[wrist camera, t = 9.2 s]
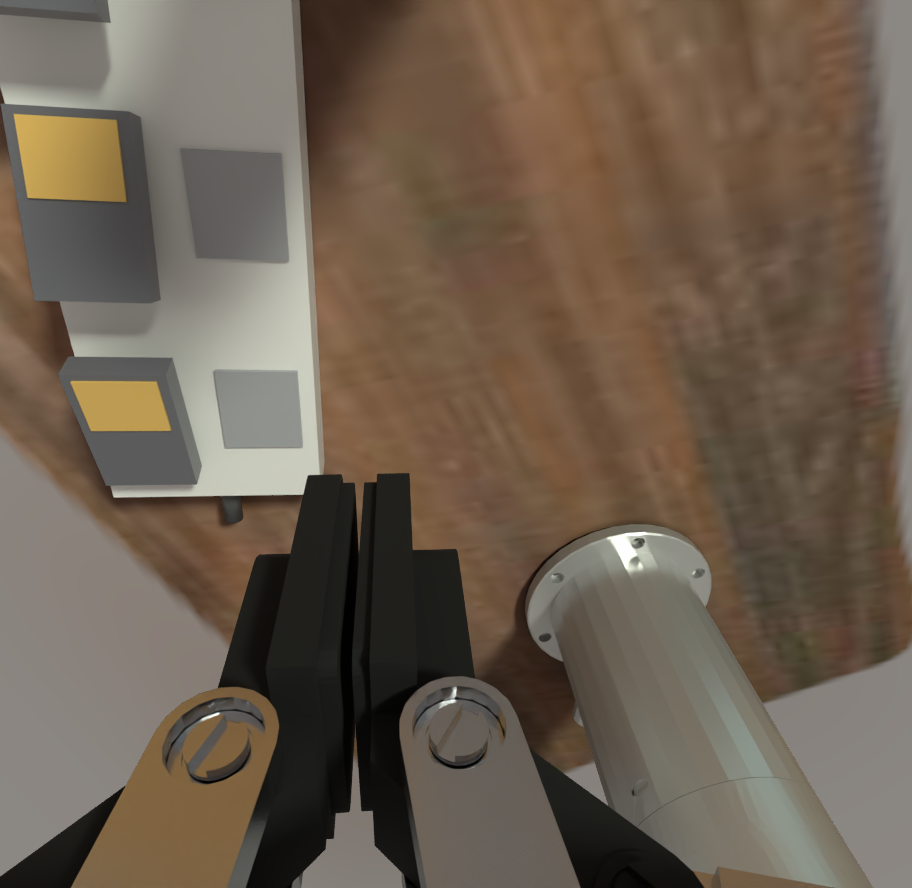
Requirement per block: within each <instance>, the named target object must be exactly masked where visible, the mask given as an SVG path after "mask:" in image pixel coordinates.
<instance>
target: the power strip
mask: <svg viewBox="0 0 912 888" xmlns="http://www.w3.org/2000/svg"><path fill="white" fill-rule="evenodd" d="M108 6H109V14H110V21H111V23H104V22H91V21H78V20H65V19H52V18H39V17H26V16H13V15H0V88H1V91H2V95H3V98H4V102H5V104H16V105H33V106H49V107H66V108H82V109H99V110H115V111H129V112H131V113H133V114H135V115H137V116H139V117H141V125H142V134H143V143H144V152H145V161H146V170H147V179H148V188H149V198H150V207H151V216H152V225H153V234H154V243H155V252H156V261H157V270H158V279H159V288H160V297H161V300H159V301H156V302H153V303H111V302H67V301H60V305H61V308H62V312H63V316H64V319H65V323H66V327H67V330H68V334H69V337H70V341H71V345H72V348H73V352H74V356H75V357H149V358H173V362H174V365H175V369H176V373H177V376H178V380H179V384H180V387H181V391H182V395H183V398H184V402H185V406H186V409H187V413H188V417H189V420H190V424H191V428H192V431H193V435H194V439H195V442H196V446H197V450H198V453H199V457H200V461H201V464H202V468H201V472H200V476H199V479H198V483H197V485H123V486H111V490H112V493H113V497H179V496H221V502H222V508H223V514H224V520H225V521H226V522H227V523H237V522H239V521H241V520H242V519H243V511H242V504H241V497H240V496H244V495H303V494H304V489H305V485H306V480H307V477H308V475H323V470H324V445H323V426H322V408H321V389H320V371H319V352H318V334H317V315H316V297H315V278H314V260H313V241H312V223H311V204H310V186H309V167H308V149H307V130H306V112H305V93H304V75H303V56H302V38H301V19H300V1H299V0H108Z"/></svg>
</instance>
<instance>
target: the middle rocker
mask: <svg viewBox="0 0 912 888" xmlns="http://www.w3.org/2000/svg"><path fill="white" fill-rule="evenodd" d="M1 110H2V116H3V122H4V127H5V133H6V139H7V145H8V150H9V156H10V162H11V168H12V174H13V179H14V185H15V191H16V197H17V202H18V208H19V214H20V220H21V226H22V231H23V237H24V243H25V249H26V254H27V260H28V266H29V272H30V278H31V283H32V289H33V295H34V301H67V302H111V303H153V302H156V301H159V300H161V297H160V288H159V279H158V270H157V261H156V252H155V243H154V234H153V225H152V216H151V207H150V198H149V188H148V179H147V170H146V161H145V152H144V143H143V134H142V125H141V117H139V116H137V115H135V114H133V113H131V112H129V111H115V110H99V109H82V108H66V107H49V106H33V105H16V104H1Z"/></svg>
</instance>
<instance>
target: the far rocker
mask: <svg viewBox="0 0 912 888" xmlns="http://www.w3.org/2000/svg"><path fill="white" fill-rule="evenodd" d="M58 377H59V379H60V381H61V383H62V386H63V388H64V390H65V393H66V395H67V397H68V399H69V402H70V404H71V406H72V409H73V411H74V413H75V415H76V418H77V420H78V422H79V425H80V427H81V429H82V432H83V434H84V436H85V438H86V441H87V443H88V445H89V448H90V450H91V452H92V454H93V457H94V459H95V461H96V464H97V466H98V468H99V470H100V473H101V475H102V477H103V480H104V482H105V484H106V486H123V485H197V483H198V479H199V476H200V472H201V468H202V464H201V461H200V457H199V453H198V450H197V446H196V442H195V439H194V435H193V431H192V428H191V424H190V420H189V417H188V413H187V409H186V406H185V402H184V398H183V395H182V391H181V387H180V384H179V380H178V376H177V373H176V369H175V365H174V362H173V358H149V357H68V358H67V360H66V361H65V363H64V365H63V367H62V368H61V370H60V372H59V374H58Z"/></svg>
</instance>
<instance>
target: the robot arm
mask: <svg viewBox="0 0 912 888" xmlns="http://www.w3.org/2000/svg"><path fill="white" fill-rule="evenodd" d="M710 592H711V573H710V570H709V566H708V564H707V562H706V560H705V559H704V557H703V556H702V554H701V552H700V551H699V550H698V548H697V547H696V546H695V545H694V544H693V543H692V541H690V540H689V539H687V538H686V537H685V536H683V535H682V534H680V533H678V532H675V531H673V530H670V529H668V528H665V527H660V526H654V525H646V524H630V525H622V526H615V527H610V528H607V529H603V530H600V531H596V532H593V533H591V534H589V535H586V536H584V537H582V538H579V539H577V540H575V541H574V542H572V543H571V544H569V545H567V546H566V547H564V548H562V549H561V550H560V551H558V552H557V553H556V554H555V555H554V556H553V557H551V558H550V559H549V560H548V561H547V562H546V563H545V564H544V565H543V567H542V568H541V569H540V570H539V571H538V573H537V574H536V576H535V577H534V579H533V581H532V583H531V585H530V586H529V589H528V593H527V596H526V599H525V615H526V619H527V624H528V628H529V630H530V633H531V636H532V638H533V640H534V641H535V642H536V643H537V645H538V646H539V647H540V648H541V649H542V650H543V651H544V652H546V653H547V654H548V655H549V656H551V657H553V658H555V659H557V660H559V661H562V662H564V665H565V669H566V672H567V675H568V678H569V681H570V685H571V688H572V691H573V694H574V697H575V705H574V709H573V712H572V715H573V718H574V720H575V721H576V722H577V723H578V724H579V725H581V726H583V727H584V729H585V733H586V736H587V739H588V742H589V745H590V749H591V752H592V755H593V758H594V761H595V765H596V768H597V771H598V774H599V777H600V781H601V784H602V787H603V790H604V793H605V797H606V800H607V803H608V806H607V805H606V804H605V803H603V802H602V801H600V800H599V799H598V798H596V797H595V796H593V795H592V794H591V793H589V792H588V791H587V790H585V789H584V788H583V787H581V786H580V785H578V784H577V783H576V782H574V781H573V780H572V779H570V778H569V777H568V776H566V775H565V774H563V773H562V772H561V771H559V770H558V769H557V768H555V767H554V766H552V765H551V764H550V763H548V762H547V761H546V760H544V759H543V758H542V757H540V756H539V755H537V754H536V753H535V752H533V751H532V750H531V749H529V747H528V744H527V741H526V739H525V736H524V733H523V731H522V728H521V725H520V723H519V720H518V717H517V714H516V713H515V711H514V709H513V707H512V706H511V704H510V702H509V700H508V699H507V698H506V697H505V696H504V695H503V694H502V693H501V692H499V691H498V690H497V689H496V688H495V687H493V686H491V685H489V684H487V683H485V682H483V681H481V680H478V679H475V675H474V668H473V661H472V653H471V646H470V639H469V631H468V624H467V617H466V610H465V602H464V595H463V588H462V580H461V573H460V566H459V559H458V553H457V550H456V549H441V550H413V549H412V525H411V500H410V477H409V473H395V474H377V482H368V483H364V495H363V509H362V523H361V536H360V550H358V532H357V513H356V495H355V484H354V483H343V479H342V475H341V474H337V475H308V477H307V480H306V485H305V489H304V494H303V499H302V503H301V508H300V512H299V517H298V521H297V526H296V531H295V535H294V540H293V544H292V549H291V554H265V555H258V556H257V557H256V560H255V562H254V565H253V569H252V572H251V575H250V579H249V582H248V586H247V589H246V593H245V596H244V600H243V603H242V606H241V610H240V613H239V617H238V620H237V624H236V627H235V631H234V634H233V637H232V641H231V644H230V648H229V651H228V655H227V658H226V662H225V665H224V668H223V672H222V675H221V679H220V682H219V686H218V688H217V689H213V690H210V691H206V692H203V693H200V694H198V695H196V696H194V697H193V698H191V699H189V700H187V701H185V702H183V703H182V704H180V705H179V706H178V707H177V708H176V709H175V710H174V711H172V712H171V713H170V714H169V715H168V716H166V717H165V719H164V720H163V722H162V723H161V724H160V726H159V727H158V729H157V730H156V731H155V733H154V734H153V736H152V738H151V740H150V742H149V743H148V745H147V747H146V749H145V751H144V753H143V755H142V756H141V759H140V760H139V762H138V764H137V766H136V768H135V769H134V772H133V773H132V775H131V777H130V779H129V781H128V782H127V785H126V786H124V787H123V788H122V789H120V790H119V791H118V792H116V793H115V794H113V795H112V796H111V797H110V798H108V799H106V800H105V801H104V802H102V803H101V804H100V805H98V806H97V807H95V808H94V809H93V810H91V811H90V812H89V813H87V814H86V815H84V816H83V817H82V818H80V819H79V820H78V821H76V822H75V823H74V824H72V825H71V826H69V827H68V828H67V829H65V830H64V831H63V832H61V833H60V834H58V835H57V836H56V837H54V838H53V839H51V840H50V841H49V842H47V843H46V844H45V845H43V846H42V847H40V848H39V849H38V850H36V851H35V852H34V853H32V854H31V855H29V856H28V857H27V858H25V859H24V860H23V861H21V862H20V863H18V864H17V865H16V866H14V867H13V868H12V869H10V870H9V871H7V872H6V873H5V874H3V875H2V876H0V888H301V884H302V875H303V871H304V870H305V869H306V868H307V867H308V866H309V865H310V864H311V863H312V862H313V861H314V860H315V859H316V858H317V857H318V856H319V855H320V854H321V853H322V852H323V851H324V850H325V849H326V839H333V838H334V828H335V814H336V813H344V812H349V811H350V803H351V787H352V770H353V753H354V737H355V724H356V739H357V753H358V768H359V783H360V796H361V810H362V811H373V820H374V839H375V846H376V847H377V848H378V849H379V850H380V851H381V852H382V853H383V854H384V855H385V856H386V857H387V858H388V859H389V860H390V861H391V862H392V863H393V864H394V865H395V866H396V867H397V868H398V869H399V870H400V871H401V872H402V886H403V888H874V887H873V886H872V884H871V882H870V881H869V879H868V878H867V876H866V874H865V873H864V871H863V870H862V868H861V867H860V865H859V864H858V862H857V860H856V859H855V857H854V855H853V854H852V853H851V851H850V849H849V848H848V846H847V844H846V843H845V841H844V839H843V838H842V836H841V834H840V833H839V831H838V829H837V828H836V826H835V824H834V823H833V821H832V819H831V818H830V816H829V814H828V813H827V811H826V809H825V808H824V806H823V804H822V803H821V801H820V799H819V798H818V796H817V795H816V793H815V791H814V789H813V788H812V786H811V785H810V783H809V781H808V779H807V777H806V776H805V774H804V772H803V771H802V769H801V767H800V766H799V764H798V762H797V761H796V759H795V757H794V756H793V754H792V752H791V751H790V749H789V747H788V745H787V744H786V742H785V740H784V739H783V737H782V735H781V734H780V732H779V730H778V729H777V727H776V725H775V724H774V722H773V721H772V719H771V717H770V715H769V714H768V712H767V710H766V709H765V707H764V705H763V703H762V702H761V700H760V698H759V697H758V695H757V693H756V692H755V690H754V688H753V687H752V685H751V683H750V682H749V680H748V678H747V677H746V675H745V673H744V672H743V670H742V668H741V667H740V665H739V663H738V661H737V660H736V658H735V656H734V655H733V653H732V651H731V650H730V648H729V646H728V645H727V643H726V641H725V640H724V638H723V636H722V635H721V633H720V631H719V630H718V628H717V626H716V625H715V623H714V621H713V619H712V618H711V616H710V614H709V613H708V611H707V609H706V608H705V606H706V605H707V603H708V600H709V596H710Z"/></svg>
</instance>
